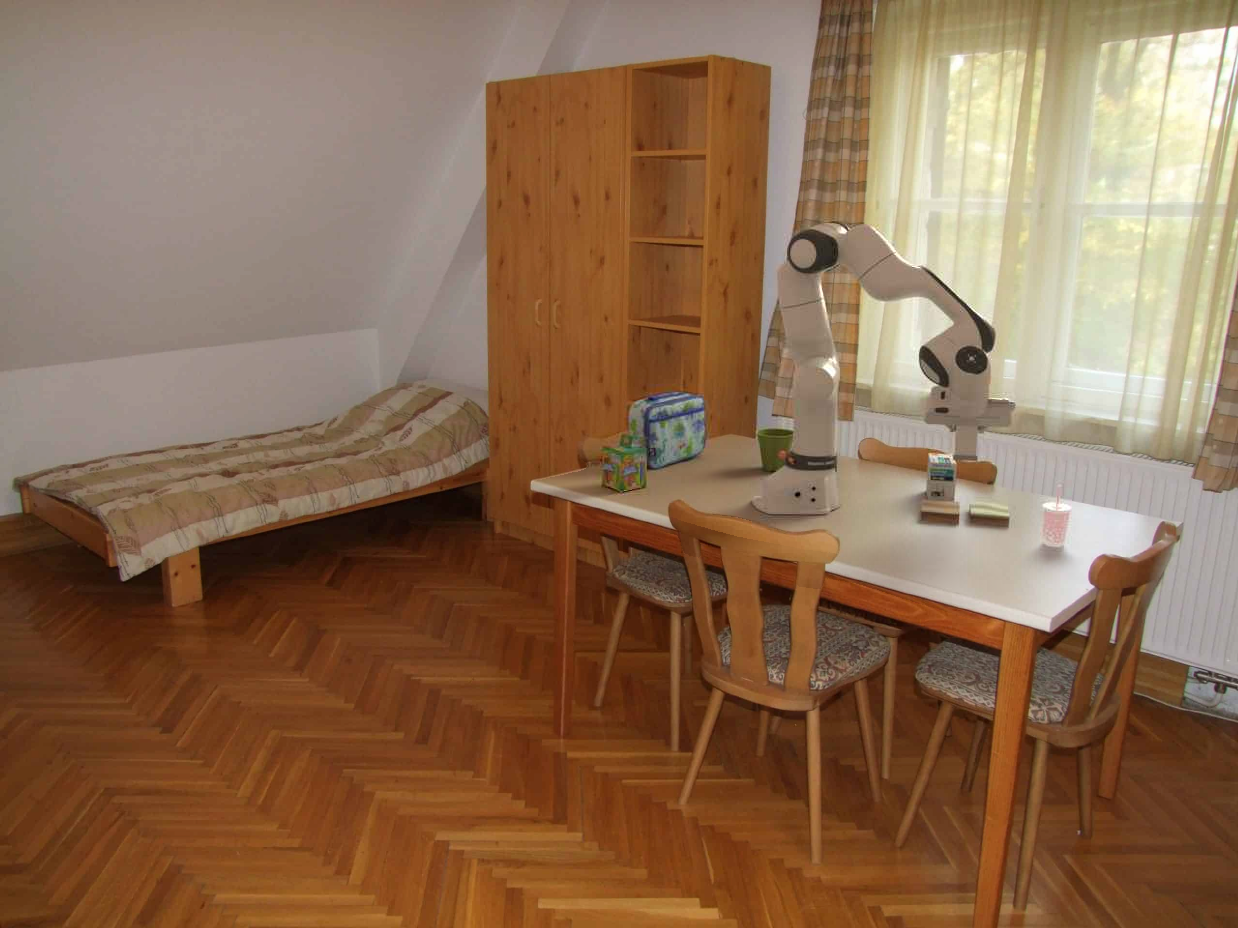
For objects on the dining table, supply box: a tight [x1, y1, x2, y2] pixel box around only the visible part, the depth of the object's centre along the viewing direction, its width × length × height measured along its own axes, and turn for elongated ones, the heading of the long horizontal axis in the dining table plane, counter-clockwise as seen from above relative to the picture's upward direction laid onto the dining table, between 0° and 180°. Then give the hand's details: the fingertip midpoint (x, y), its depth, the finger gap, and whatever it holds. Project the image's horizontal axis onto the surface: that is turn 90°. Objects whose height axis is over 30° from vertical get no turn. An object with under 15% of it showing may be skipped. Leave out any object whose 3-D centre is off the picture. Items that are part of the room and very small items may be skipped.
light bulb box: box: [925, 452, 958, 502], centre depth 277 cm, size 11×7×11 cm, turn 168°
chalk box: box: [601, 433, 648, 491], centre depth 287 cm, size 9×9×15 cm
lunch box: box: [628, 391, 707, 470], centre depth 313 cm, size 26×11×21 cm, turn 133°
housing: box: [952, 425, 979, 462], centre depth 254 cm, size 8×6×10 cm
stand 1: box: [920, 498, 961, 525], centre depth 261 cm, size 11×9×2 cm
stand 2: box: [969, 500, 1010, 527], centre depth 259 cm, size 11×9×2 cm
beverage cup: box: [1042, 484, 1073, 548], centre depth 239 cm, size 6×6×14 cm
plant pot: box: [755, 427, 793, 472], centre depth 305 cm, size 12×12×11 cm
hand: (966, 430), depth 255 cm, fingers closed on housing, 5 cm apart
